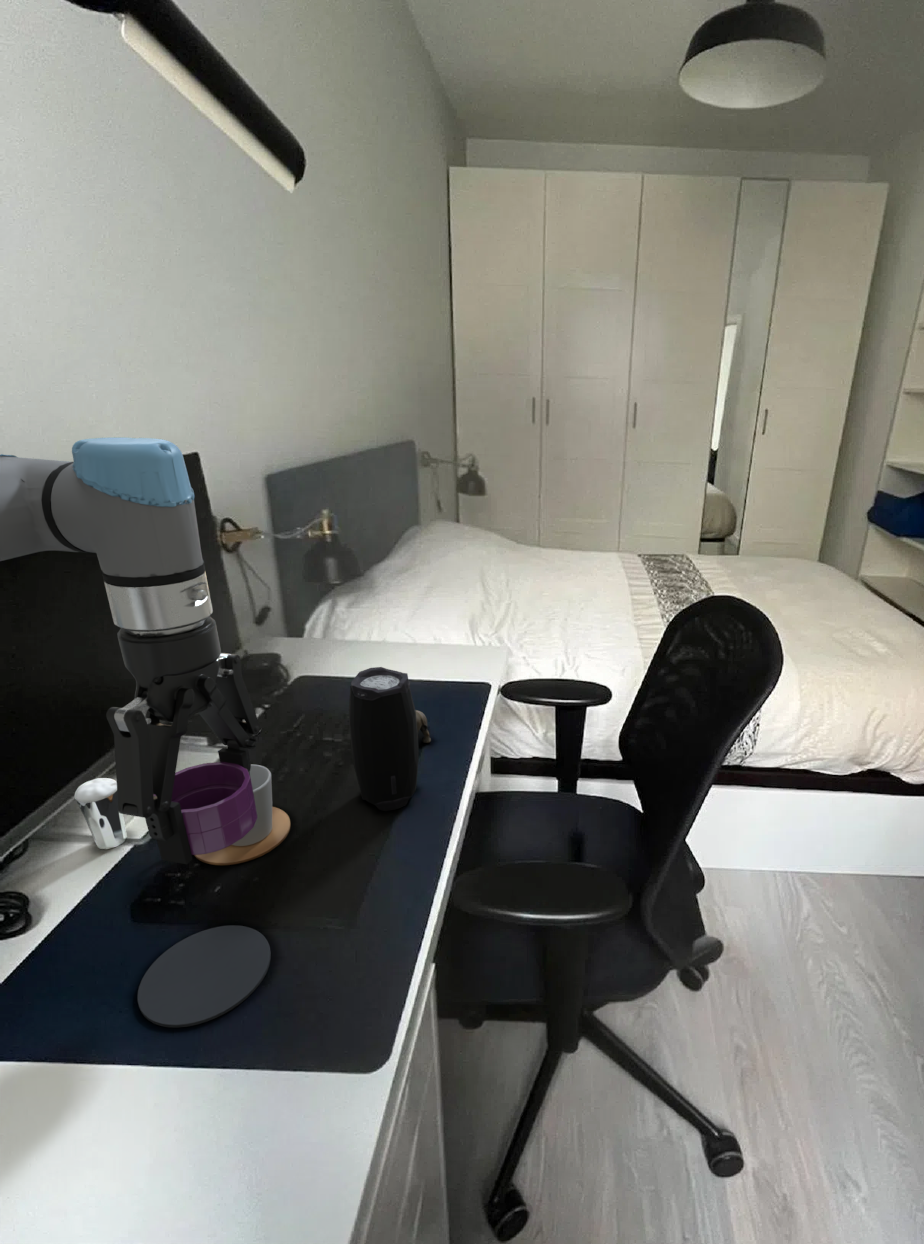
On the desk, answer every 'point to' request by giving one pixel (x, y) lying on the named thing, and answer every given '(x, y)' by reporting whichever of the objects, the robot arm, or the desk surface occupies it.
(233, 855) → the wooden coaster
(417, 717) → the rhino figurine
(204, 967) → the slate coaster
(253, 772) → the cup
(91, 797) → the milkshake
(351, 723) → the portable speaker
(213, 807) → the plum bowl
